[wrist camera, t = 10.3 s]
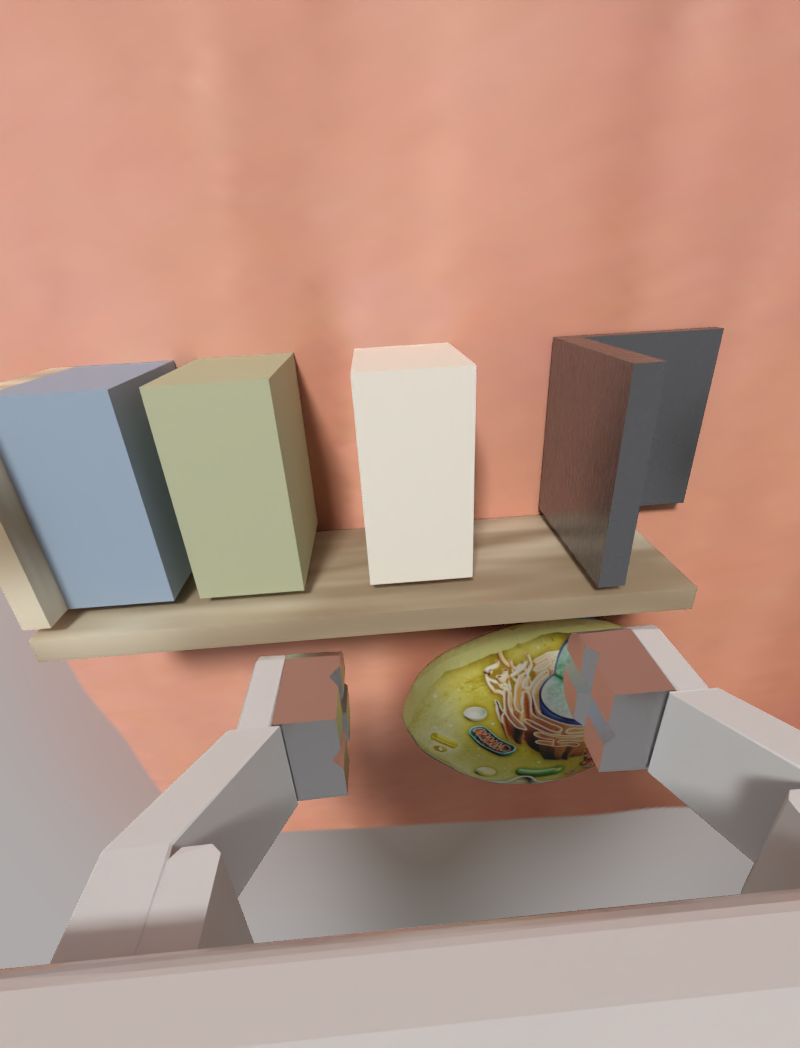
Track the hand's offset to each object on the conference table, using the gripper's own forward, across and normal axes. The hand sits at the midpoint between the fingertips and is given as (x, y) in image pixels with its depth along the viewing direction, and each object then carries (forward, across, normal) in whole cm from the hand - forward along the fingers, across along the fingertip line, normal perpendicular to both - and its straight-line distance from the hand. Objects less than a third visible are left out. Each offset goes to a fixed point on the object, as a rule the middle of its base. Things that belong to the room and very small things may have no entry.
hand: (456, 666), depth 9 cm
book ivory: (+15, 0, 0) cm, 15 cm away
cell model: (+15, -7, +15) cm, 22 cm away
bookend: (+15, -10, 0) cm, 18 cm away
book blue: (+15, +11, 0) cm, 19 cm away
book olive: (+15, +6, 0) cm, 16 cm away
